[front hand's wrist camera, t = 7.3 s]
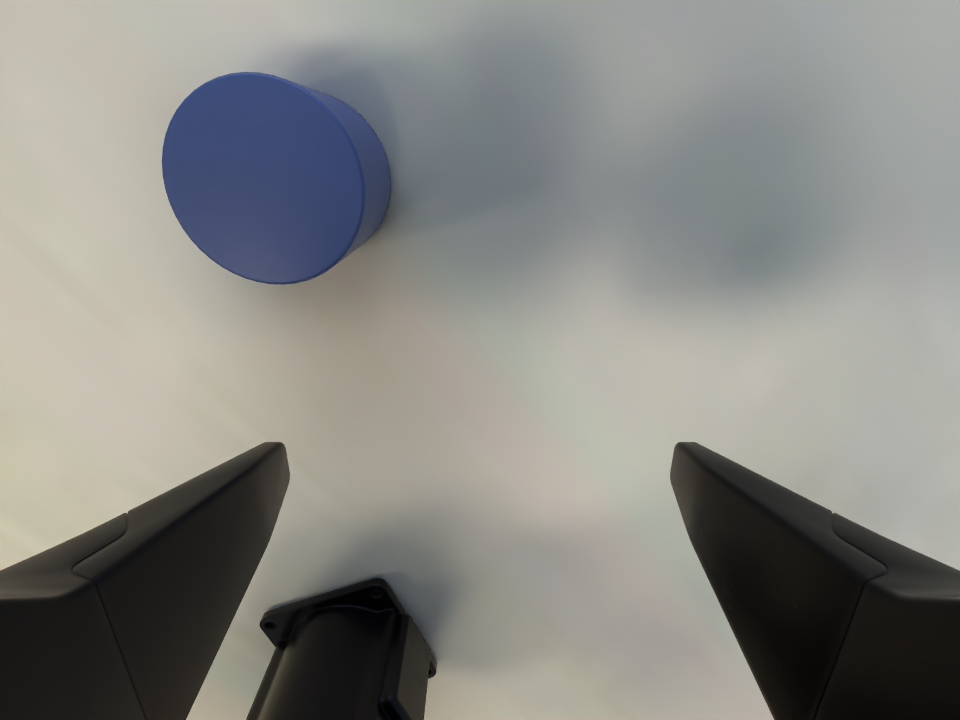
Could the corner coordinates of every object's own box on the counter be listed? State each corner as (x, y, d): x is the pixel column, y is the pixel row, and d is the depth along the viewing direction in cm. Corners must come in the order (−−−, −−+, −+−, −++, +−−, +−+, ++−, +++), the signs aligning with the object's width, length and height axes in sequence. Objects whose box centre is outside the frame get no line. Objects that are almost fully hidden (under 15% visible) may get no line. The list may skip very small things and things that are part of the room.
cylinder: (397, 254, 18) (375, 282, 14) (251, 258, 18) (188, 288, 14) (383, 88, 16) (351, 68, 12) (218, 93, 16) (135, 74, 12)
